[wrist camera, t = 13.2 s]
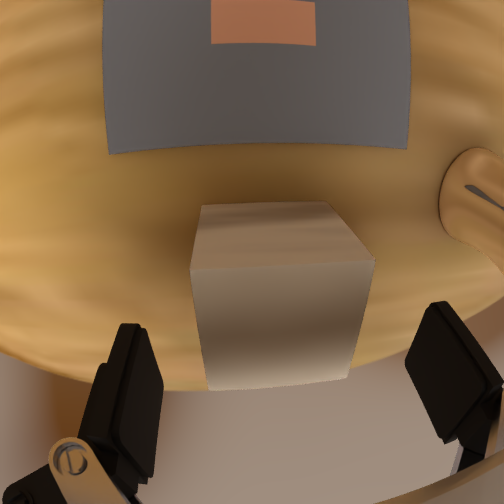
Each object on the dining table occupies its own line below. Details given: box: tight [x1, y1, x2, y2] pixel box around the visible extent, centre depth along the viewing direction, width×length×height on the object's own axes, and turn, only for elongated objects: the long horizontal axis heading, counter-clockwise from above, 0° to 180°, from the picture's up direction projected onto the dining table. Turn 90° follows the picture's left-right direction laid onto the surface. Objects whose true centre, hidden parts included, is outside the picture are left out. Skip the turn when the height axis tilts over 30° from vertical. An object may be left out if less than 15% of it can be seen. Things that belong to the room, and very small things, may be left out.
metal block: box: [189, 201, 376, 391], centre depth 14 cm, size 6×6×6 cm
